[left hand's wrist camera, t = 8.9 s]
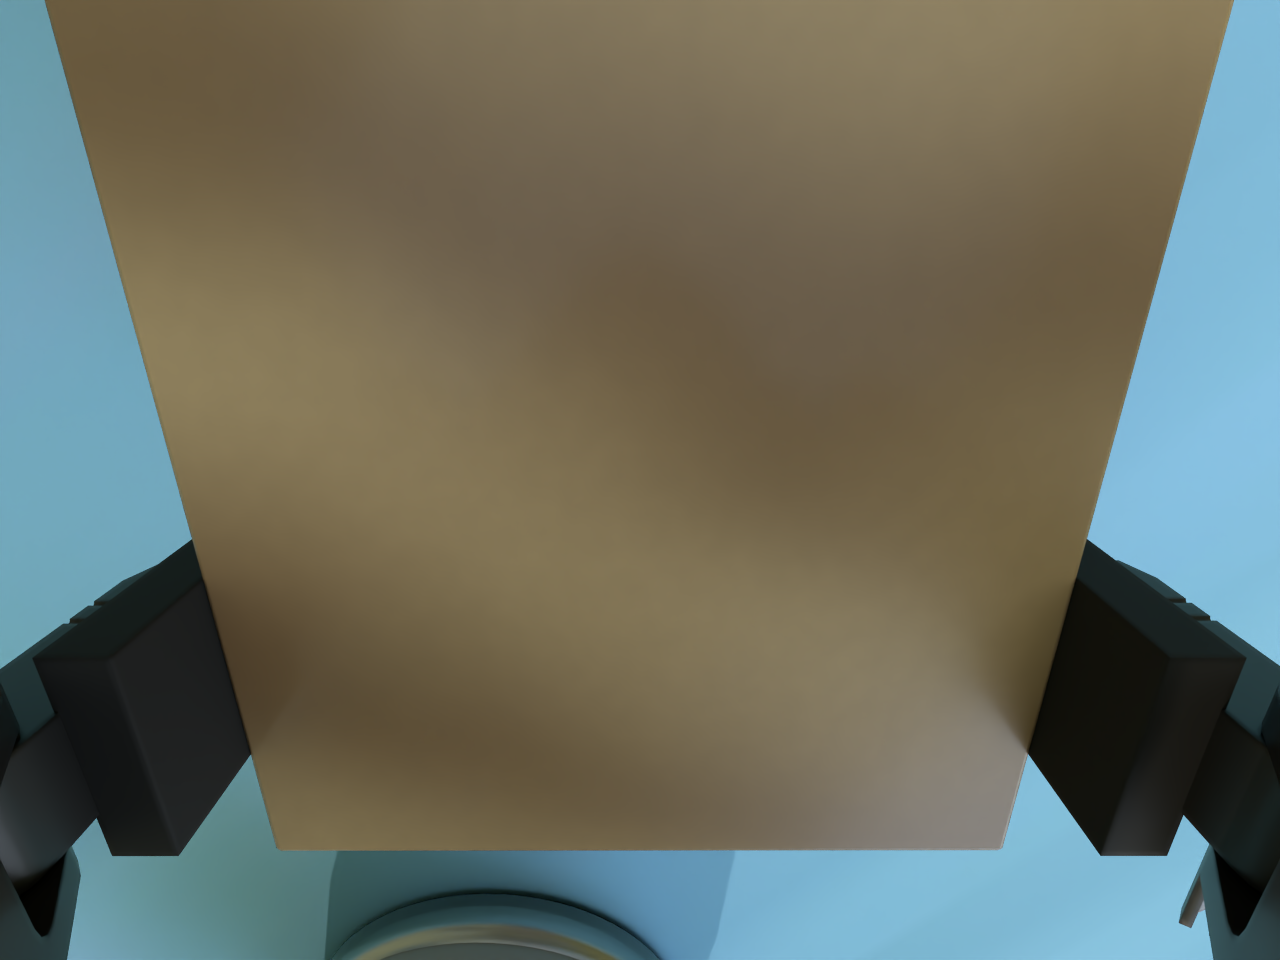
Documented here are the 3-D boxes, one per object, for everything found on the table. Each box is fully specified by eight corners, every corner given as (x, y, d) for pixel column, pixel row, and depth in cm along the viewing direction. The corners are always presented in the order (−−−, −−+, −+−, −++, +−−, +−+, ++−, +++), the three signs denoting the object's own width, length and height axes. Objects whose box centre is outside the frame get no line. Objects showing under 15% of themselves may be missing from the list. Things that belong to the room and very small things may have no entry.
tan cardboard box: (378, -274, 14) (-469, -1842, 3) (900, -273, 14) (1741, -1830, 3) (463, 520, 20) (275, 853, 10) (815, 521, 20) (1003, 852, 10)
